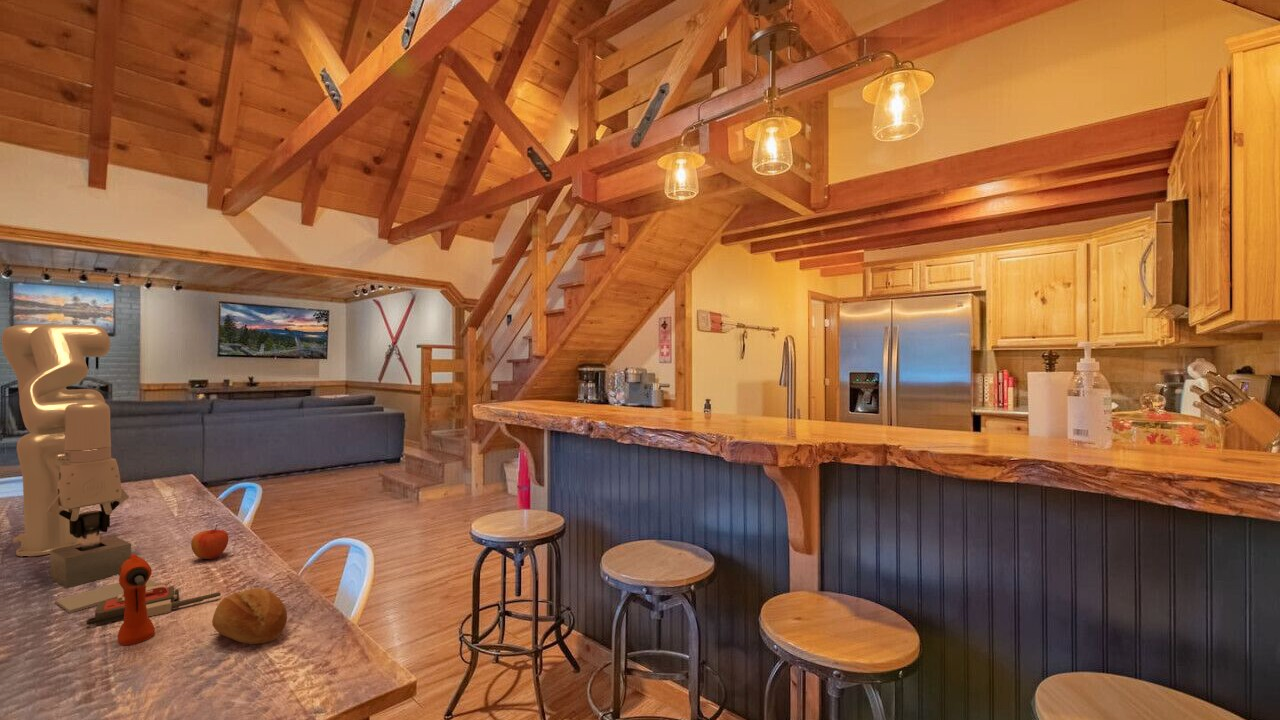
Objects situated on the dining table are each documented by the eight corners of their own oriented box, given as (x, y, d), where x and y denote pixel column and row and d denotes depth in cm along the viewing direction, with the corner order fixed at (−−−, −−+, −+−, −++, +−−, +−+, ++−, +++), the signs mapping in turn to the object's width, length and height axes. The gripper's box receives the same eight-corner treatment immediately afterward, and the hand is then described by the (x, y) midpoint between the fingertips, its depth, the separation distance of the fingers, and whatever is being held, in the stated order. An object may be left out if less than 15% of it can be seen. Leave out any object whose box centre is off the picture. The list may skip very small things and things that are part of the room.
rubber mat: (55, 603, 113) (55, 600, 113) (142, 578, 125) (142, 576, 125) (69, 613, 108) (69, 610, 108) (159, 586, 120) (159, 584, 120)
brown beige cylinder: (74, 558, 126) (73, 515, 126) (90, 552, 130) (89, 510, 130) (91, 558, 126) (90, 515, 126) (106, 552, 130) (105, 510, 130)
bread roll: (243, 659, 91) (242, 612, 91) (197, 639, 98) (196, 595, 98) (301, 633, 100) (300, 589, 100) (255, 616, 107) (254, 575, 106)
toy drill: (123, 665, 87) (120, 569, 88) (116, 638, 100) (113, 555, 101) (163, 652, 91) (160, 560, 92) (152, 628, 104) (149, 548, 105)
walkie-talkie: (84, 635, 101) (221, 602, 113) (83, 611, 101) (220, 581, 113) (91, 617, 107) (219, 588, 120) (90, 595, 107) (219, 568, 120)
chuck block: (50, 578, 126) (49, 550, 126) (114, 562, 135) (113, 536, 135) (66, 588, 120) (65, 558, 120) (131, 570, 130) (131, 543, 130)
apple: (184, 561, 135) (184, 529, 135) (217, 551, 142) (216, 520, 142) (203, 565, 132) (202, 532, 132) (235, 555, 139) (234, 523, 139)
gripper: (41, 464, 118) (43, 548, 119) (141, 451, 133) (142, 526, 133) (31, 460, 122) (33, 541, 123) (129, 448, 136) (130, 521, 137)
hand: (90, 533), depth 128 cm, fingers closed on brown beige cylinder, 3 cm apart
